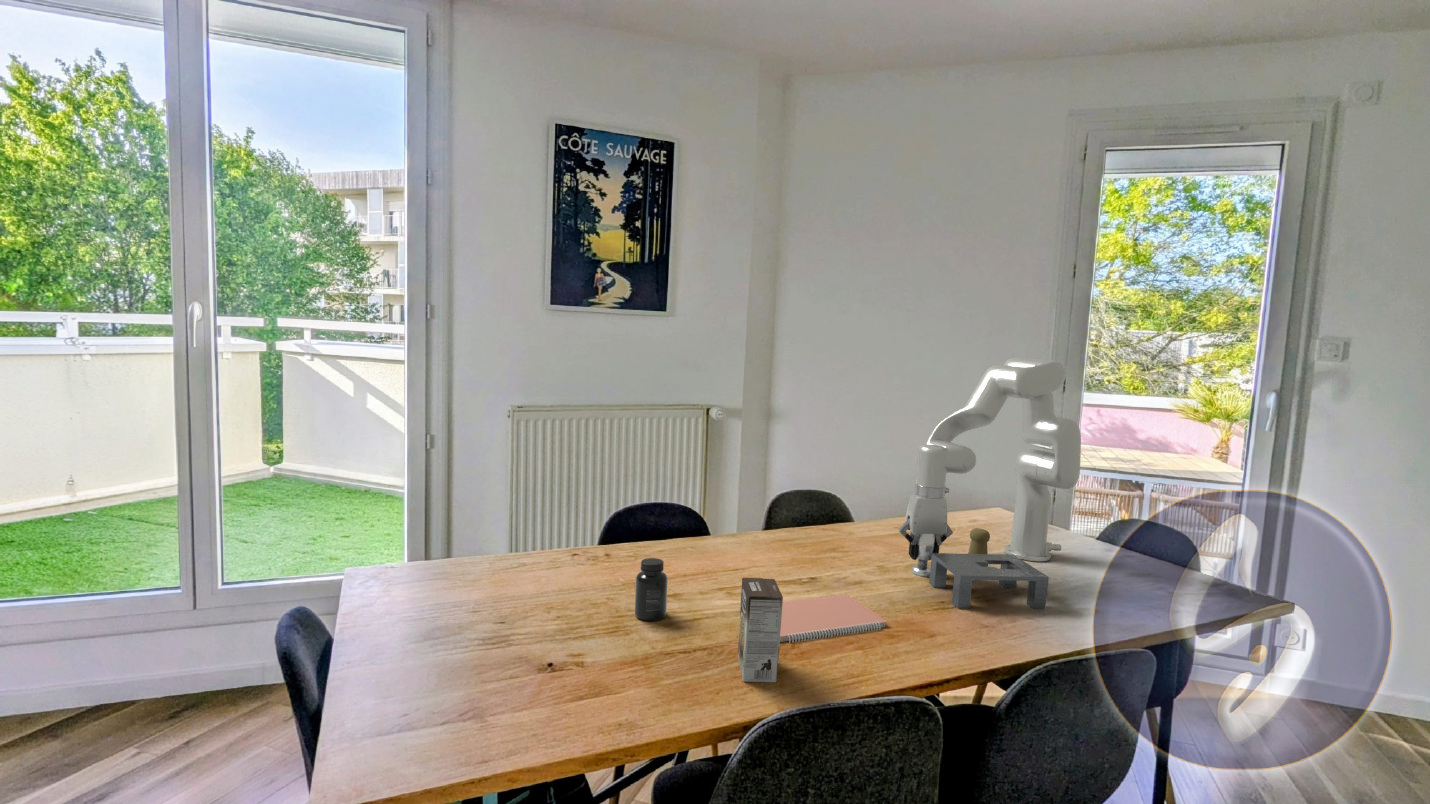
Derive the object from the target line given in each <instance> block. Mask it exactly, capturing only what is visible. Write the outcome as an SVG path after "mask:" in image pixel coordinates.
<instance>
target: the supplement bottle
mask: <svg viewBox="0 0 1430 804" xmlns="http://www.w3.org/2000/svg"><path fill="white" fill-rule="evenodd" d="M664 563H665V562H664V560H662V559H661V558H657V557H656V558H655V557H647V558H644V559H641V562H640V571H639V572H638V574H637V575H636V577H635V587H634V590H635V594H634V615H635V617H636V618H637V619H639V620H641V621H646V622H656V621H659V620H662V619H664V618H665V617H666V615H667V607H668V605H667V604H668V601H667V600H668V576H667V574H666V572H664V566H665V565H664Z"/></svg>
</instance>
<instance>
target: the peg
mask: <svg viewBox="0 0 1430 804" xmlns="http://www.w3.org/2000/svg"><path fill="white" fill-rule="evenodd" d="M934 544H935V534H921V535H919V537H918V540H917V543H916V545H917V546H918V551H917V559H916V560H917V564H914V565H913V566H912V571H911V572H912V575H915V576H917V577H921V578H922V577H923V578H930V569H931V566H929V565H928V563H929V562H928V561H931V558H932V553H934Z"/></svg>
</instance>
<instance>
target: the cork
mask: <svg viewBox="0 0 1430 804" xmlns="http://www.w3.org/2000/svg"><path fill="white" fill-rule="evenodd" d="M969 538H970V545H969V549H968V553H967V554H989V553H988V542H989V541H990V539H991V534H990V532H989V531H988V530H987V529H983V528H977V527H976V528H972V529H971V531H969ZM981 567H989V565H988V566H981Z"/></svg>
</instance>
